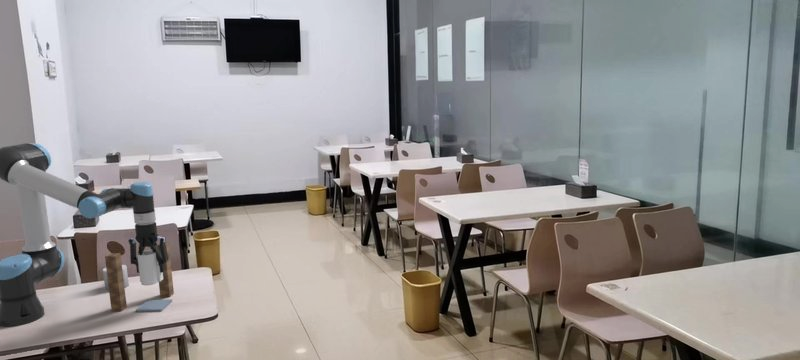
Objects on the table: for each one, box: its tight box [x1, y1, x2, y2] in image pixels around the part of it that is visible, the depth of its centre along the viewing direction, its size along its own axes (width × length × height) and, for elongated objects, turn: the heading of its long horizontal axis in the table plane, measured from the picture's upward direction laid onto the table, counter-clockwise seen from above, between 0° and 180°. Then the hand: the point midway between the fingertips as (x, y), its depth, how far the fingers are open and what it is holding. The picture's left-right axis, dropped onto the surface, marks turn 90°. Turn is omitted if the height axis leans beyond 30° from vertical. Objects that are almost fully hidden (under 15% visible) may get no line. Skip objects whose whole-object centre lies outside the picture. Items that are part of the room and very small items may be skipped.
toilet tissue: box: [102, 264, 130, 292], centre depth 253 cm, size 9×13×9 cm
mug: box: [136, 249, 159, 286], centre depth 225 cm, size 10×7×12 cm, turn 166°
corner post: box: [104, 252, 128, 312], centre depth 225 cm, size 4×4×22 cm
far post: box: [157, 241, 175, 298], centre depth 238 cm, size 4×4×22 cm
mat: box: [135, 299, 173, 313], centre depth 228 cm, size 10×10×1 cm
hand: (151, 280), depth 226 cm, fingers closed on mug, 6 cm apart
